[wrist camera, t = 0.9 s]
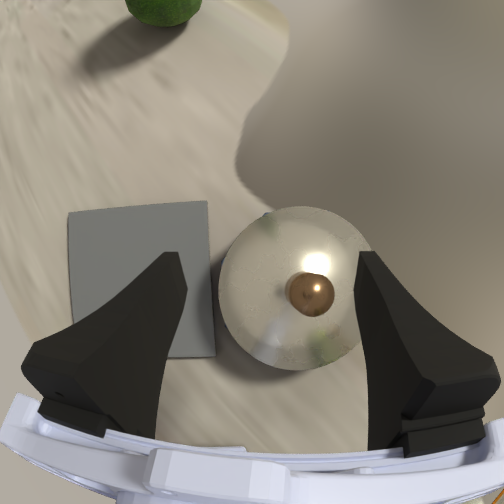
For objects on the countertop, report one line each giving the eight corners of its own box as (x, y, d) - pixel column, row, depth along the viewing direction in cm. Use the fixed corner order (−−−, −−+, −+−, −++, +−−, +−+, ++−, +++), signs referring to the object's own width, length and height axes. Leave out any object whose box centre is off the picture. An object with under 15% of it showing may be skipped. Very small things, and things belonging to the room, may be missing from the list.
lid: (374, 356, 25) (397, 372, 20) (224, 371, 24) (221, 392, 20) (370, 207, 25) (394, 197, 21) (215, 212, 25) (210, 201, 20)
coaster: (216, 354, 27) (215, 356, 26) (80, 352, 26) (78, 353, 26) (207, 201, 27) (206, 200, 27) (71, 213, 27) (68, 212, 26)
